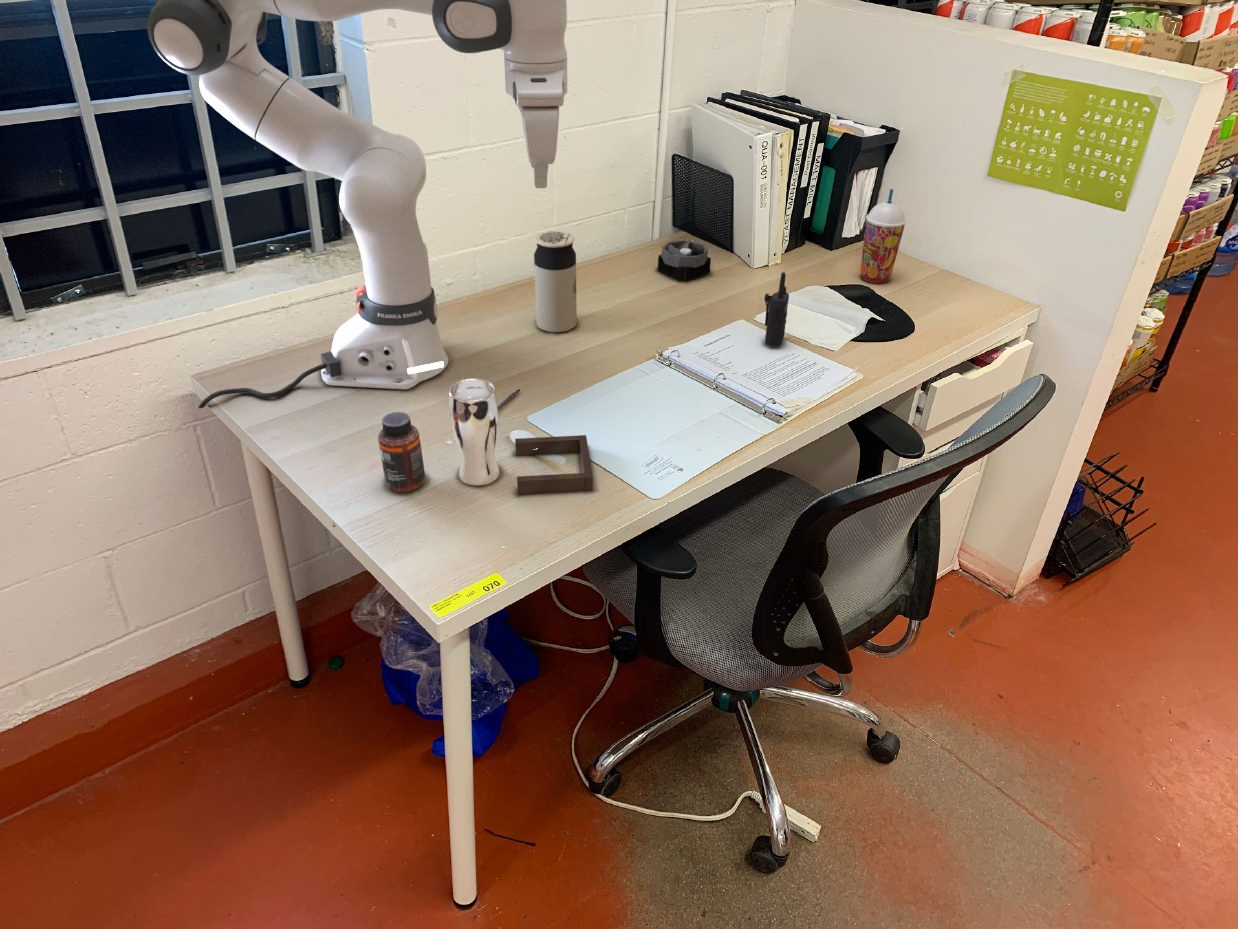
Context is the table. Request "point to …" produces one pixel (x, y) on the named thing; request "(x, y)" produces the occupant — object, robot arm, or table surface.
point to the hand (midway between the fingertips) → (538, 176)
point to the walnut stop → (557, 480)
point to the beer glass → (475, 429)
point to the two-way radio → (776, 314)
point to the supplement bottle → (401, 453)
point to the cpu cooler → (684, 260)
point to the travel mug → (555, 281)
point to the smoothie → (881, 240)
